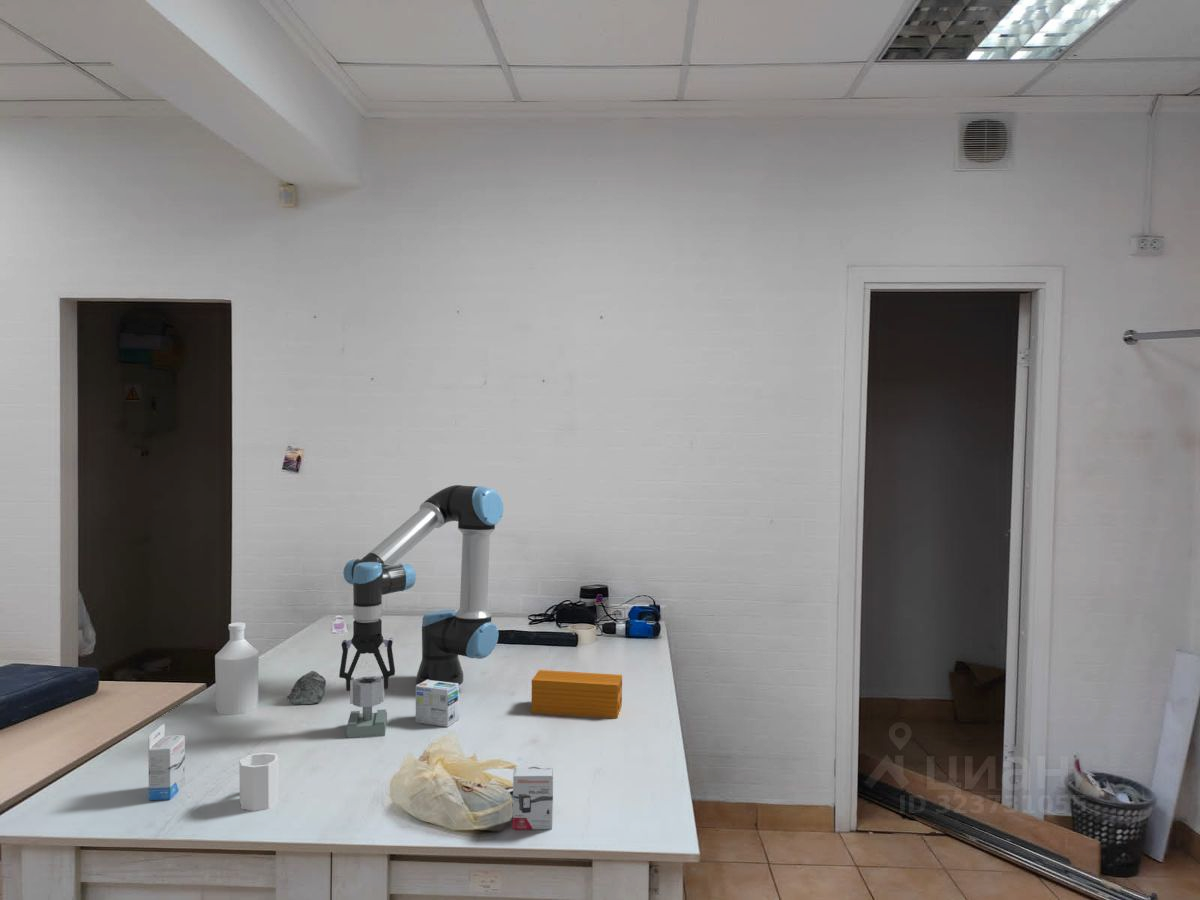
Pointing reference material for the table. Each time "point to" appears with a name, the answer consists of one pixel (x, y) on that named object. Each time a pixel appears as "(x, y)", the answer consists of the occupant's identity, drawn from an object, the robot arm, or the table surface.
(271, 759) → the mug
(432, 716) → the light bulb box
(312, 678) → the stone
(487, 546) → the robot arm
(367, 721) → the pillow block
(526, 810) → the ink box
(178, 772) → the ink box
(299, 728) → the table surface
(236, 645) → the bottle
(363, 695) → the hub
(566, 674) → the brick
